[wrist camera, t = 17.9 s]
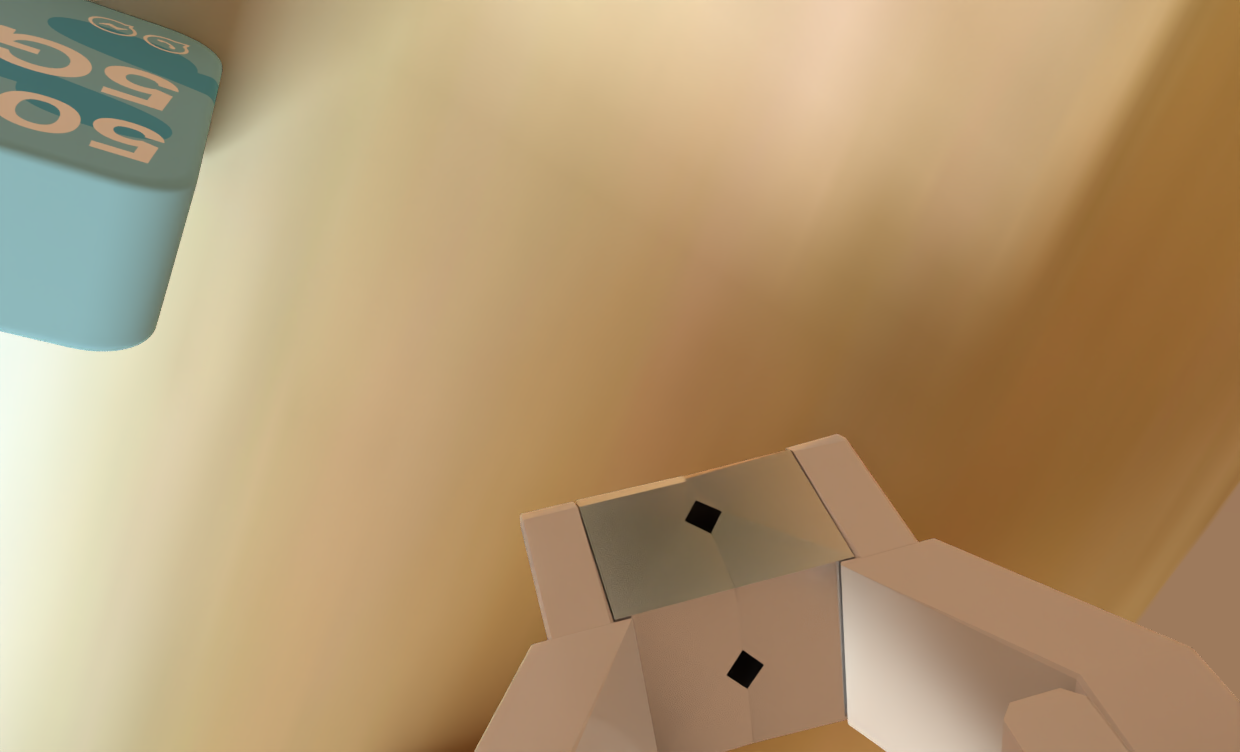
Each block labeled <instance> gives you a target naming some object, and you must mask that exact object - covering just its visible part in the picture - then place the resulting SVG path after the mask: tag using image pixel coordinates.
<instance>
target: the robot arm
mask: <svg viewBox="0 0 1240 752" xmlns="http://www.w3.org/2000/svg"><path fill="white" fill-rule="evenodd" d="M520 525H521V530H522V534H523V538H524V542H525V546H526V551H527V555H528V559H529V563H530V567H531V572H532V576H533V580H534V584H535V588H536V593H537V597H538V601H539V605H540V609H541V614H542V618H543V622H544V626H545V631H546V635H547V639H548V640H546V641H543V642H539V643H535V644H532V645H531V646H530V648H529V650H528V652H527V654H526V656H525V658H524V659H523V661H522V663H521V665H520V667H519V669H518V671H517V672H516V674H515V676H514V678H513V680H512V682H511V684H510V685H509V687H508V689H507V691H506V693H505V695H504V697H503V699H502V700H501V702H500V704H499V706H498V708H497V710H496V712H495V713H494V715H493V717H492V719H491V721H490V723H489V725H488V726H487V728H486V730H485V732H484V734H483V736H482V738H481V739H480V741H479V743H478V745H477V747H476V749H475V751H474V752H726V751H729V750H732V749H736V748H739V747H742V746H745V745H748V744H752V743H753V742H754V743H756V742H760V741H764V740H767V739H771V738H775V737H779V736H783V735H787V734H791V733H795V732H799V731H803V730H807V729H811V728H815V727H819V726H823V725H827V724H831V723H835V722H839V721H843V720H847V719H848V724H849V725H850V726H852V727H853V728H854V729H856V730H857V731H859V732H860V733H861V734H863V735H864V736H866V737H867V738H868V739H870V740H871V741H873V742H874V743H875V744H877V745H878V746H880V747H881V748H882V749H884V750H885V751H887V752H1240V701H1239V700H1238V699H1237V697H1236V696H1235V695H1234V694H1233V693H1232V692H1231V691H1230V690H1229V689H1228V687H1227V686H1226V685H1225V684H1224V683H1223V682H1222V681H1221V679H1220V678H1219V677H1218V676H1217V675H1216V674H1215V673H1214V672H1213V671H1212V669H1211V668H1210V667H1209V666H1208V665H1207V664H1206V663H1205V662H1204V661H1203V659H1202V658H1201V657H1200V656H1199V655H1198V654H1197V652H1196V651H1195V650H1194V649H1193V648H1192V647H1189V646H1187V645H1185V644H1183V643H1180V642H1178V641H1175V640H1173V639H1171V638H1168V637H1166V636H1164V635H1161V634H1159V633H1156V632H1154V631H1152V630H1150V629H1147V628H1145V627H1142V626H1140V625H1138V624H1135V623H1133V622H1131V621H1128V620H1126V619H1124V618H1121V617H1119V616H1117V615H1114V614H1112V613H1110V612H1107V611H1105V610H1102V609H1100V608H1098V607H1095V606H1093V605H1091V604H1088V603H1086V602H1084V601H1081V600H1079V599H1077V598H1074V597H1072V596H1069V595H1067V594H1065V593H1062V592H1060V591H1058V590H1055V589H1053V588H1051V587H1048V586H1046V585H1043V584H1041V583H1039V582H1036V581H1034V580H1032V579H1029V578H1027V577H1025V576H1022V575H1020V574H1018V573H1015V572H1013V571H1010V570H1008V569H1006V568H1003V567H1001V566H999V565H996V564H994V563H992V562H989V561H987V560H985V559H982V558H980V557H977V556H975V555H973V554H970V553H968V552H966V551H963V550H961V549H959V548H956V547H954V546H952V545H949V544H947V543H944V542H942V541H940V540H937V539H935V538H932V539H928V540H925V541H921V542H918V541H917V539H916V538H915V536H914V535H913V533H912V532H911V531H910V529H909V528H908V526H907V525H906V523H905V522H904V520H903V519H902V518H901V516H900V515H899V513H898V512H897V510H896V509H895V508H894V506H893V505H892V503H891V502H890V500H889V499H888V497H887V496H886V495H885V493H884V492H883V490H882V489H881V487H880V486H879V485H878V483H877V482H876V480H875V479H874V477H873V476H872V474H871V473H870V472H869V470H868V469H867V467H866V466H865V464H864V463H863V462H862V460H861V459H860V457H859V456H858V454H857V453H856V451H855V450H854V449H853V447H852V446H851V444H850V443H849V441H848V440H847V439H846V438H845V437H843V436H841V435H839V434H835V435H831V436H827V437H824V438H820V439H817V440H813V441H810V442H806V443H802V444H799V445H795V446H792V447H788V448H786V450H784V451H779V452H775V453H771V454H767V455H764V456H760V457H756V458H752V459H748V460H744V461H740V462H736V463H732V464H729V465H725V466H721V467H717V468H713V469H709V470H705V471H701V472H698V473H694V474H690V475H686V476H679V477H675V478H671V479H666V480H662V481H658V482H653V483H649V484H644V485H640V486H636V487H631V488H627V489H623V490H618V491H614V492H609V493H605V494H601V495H596V496H592V497H588V498H583V499H579V500H576V505H575V503H573V502H568V503H564V504H560V505H556V506H551V507H547V508H543V509H539V510H535V511H531V512H526V513H522V514H520Z"/></svg>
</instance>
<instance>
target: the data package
mask: <svg viewBox="0 0 1240 752" xmlns="http://www.w3.org/2000/svg"><path fill="white" fill-rule="evenodd" d="M221 75H222V63H221V61H220V59H219V58H218V56H217V55H216V54H215V53H214V52H213V51H211V50H210V49H209V48H208V47H206V46H205V45H203V44H201V43H200V42H198V41H196V40H194V39H192V38H190V37H188V36H186V35H183V34H181V33H179V32H176V31H173V30H171V29H168V28H165V27H162V26H159V25H156V24H153V23H150V22H147V21H144V20H141V19H139V18H136V17H133V16H130V15H127V14H124V13H121V12H118V11H115V10H112V9H109V8H107V7H104V6H101V5H98V4H95V3H92V2H89V1H86V0H0V331H2V332H6V333H11V334H15V335H19V336H23V337H28V338H32V339H36V340H40V341H44V342H49V343H53V344H57V345H61V346H66V347H70V348H75V349H81V350H88V351H117V350H123V349H127V348H131V347H134V346H136V345H139V344H141V343H142V342H144V341H145V340H147V339H148V338H149V337H150V336H151V335H152V333H153V332H154V330H155V328H156V325H157V322H158V318H159V315H160V311H161V308H162V304H163V301H164V297H165V293H166V290H167V286H168V283H169V279H170V276H171V272H172V269H173V265H174V262H175V258H176V254H177V251H178V247H179V244H180V240H181V237H182V233H183V230H184V226H185V223H186V219H187V215H188V212H189V208H190V205H191V201H192V198H193V194H194V191H195V187H196V184H197V180H198V175H199V171H200V167H201V162H202V158H203V153H204V149H205V145H206V140H207V136H208V132H209V127H210V123H211V118H212V114H213V110H214V105H215V101H216V97H217V92H218V88H219V83H220V79H221Z"/></svg>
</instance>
